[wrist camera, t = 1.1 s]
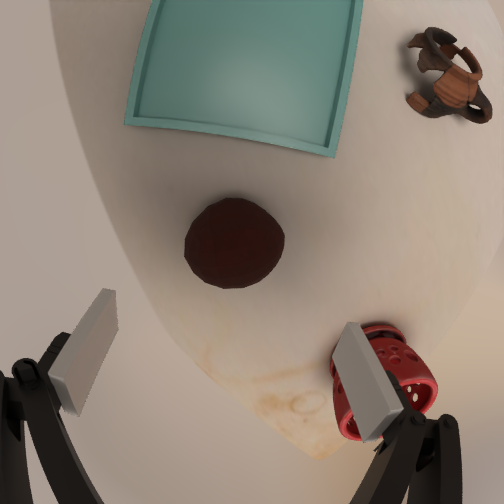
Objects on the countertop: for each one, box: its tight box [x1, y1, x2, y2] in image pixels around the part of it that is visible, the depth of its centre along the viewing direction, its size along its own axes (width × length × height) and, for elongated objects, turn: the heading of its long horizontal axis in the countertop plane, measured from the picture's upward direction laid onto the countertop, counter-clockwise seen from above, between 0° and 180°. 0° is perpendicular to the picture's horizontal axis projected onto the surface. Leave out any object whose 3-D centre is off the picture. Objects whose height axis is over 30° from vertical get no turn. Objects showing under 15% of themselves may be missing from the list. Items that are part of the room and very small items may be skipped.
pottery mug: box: [406, 27, 492, 124], centre depth 21 cm, size 12×10×8 cm
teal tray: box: [124, 0, 363, 158], centre depth 21 cm, size 20×20×2 cm
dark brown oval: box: [184, 198, 285, 289], centre depth 26 cm, size 8×9×8 cm
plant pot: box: [330, 325, 438, 441], centre depth 33 cm, size 13×13×12 cm
